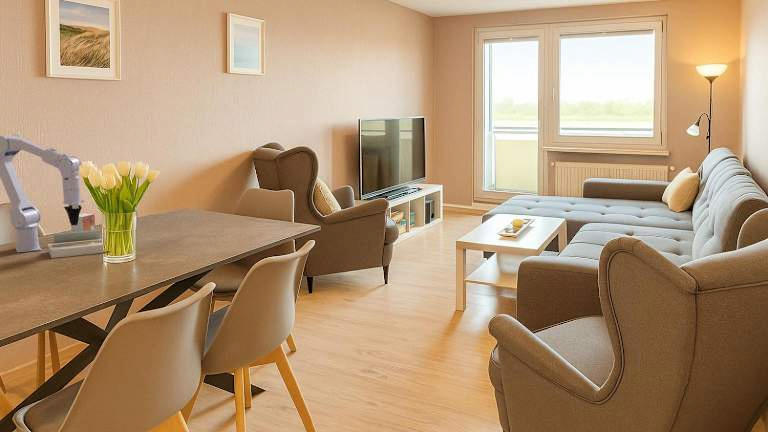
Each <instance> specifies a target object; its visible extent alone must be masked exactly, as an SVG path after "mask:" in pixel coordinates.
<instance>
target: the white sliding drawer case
mask: <svg viewBox="0 0 768 432" xmlns="http://www.w3.org/2000/svg"><path fill="white" fill-rule="evenodd" d="M102 239H103V238H100V239H97V240H88V241H77V242H65V243H55V244H53V243H50V244H48V243H47V252H48V254H49V256H50V258H52V259H55V258H65V257H72V256H73V257H74V256H84V255H85V256H86V255H93V254H104V253H103V244H102ZM84 242H94V243H92V244H82V245H72V246H68V244H74V243H84Z"/></svg>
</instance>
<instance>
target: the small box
mask: <svg viewBox="0 0 768 432" xmlns="http://www.w3.org/2000/svg"><path fill="white" fill-rule="evenodd" d="M95 217H96V216H95V213H79V218H78V224H77V225H71V224H70V227H71V228H70V229H71V232H77V231H88V230H96V219H95ZM86 241H88V240H86ZM76 242H77V241H76Z"/></svg>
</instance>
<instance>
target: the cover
mask: <svg viewBox="0 0 768 432" xmlns="http://www.w3.org/2000/svg"><path fill="white" fill-rule="evenodd" d="M101 231H102V230H101V229H95V230H88V231H77V232H72V231H67V232H57V233H56V232H55V233H54V234H53V242H52V244H57V243H67V242H76V241H86V240H98V239H101Z"/></svg>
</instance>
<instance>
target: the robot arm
mask: <svg viewBox="0 0 768 432" xmlns="http://www.w3.org/2000/svg"><path fill="white" fill-rule="evenodd" d="M21 151H24V152H26V153H30V154H32V155H34V156H37V157H40V158H41V160H42V162H43V163H45V164H47V165H49V166H52V167H54V168H57V169H58V171H59V172H60V175H61V180H62V192H63V203H62V204H64V205H68V206H64V207H63V208H64V210H65V212H66V213H67V217H68V220H69V224H70V226H71V225H77V224H78V218H79V215H80V214H81V211H82V209H83V207H82V205H81V203H85V199H81V185H80V184H81V183H80V172H79V171H80V170H79V166H80V165H81V166H82V162H81V160H80V159H79V158H78V157H77V156H73V155H72V156H69V155H68V154H67V153H62V152H61V151H58V150H57V148H55V147H52V148H50V147H48V148H43V147H42V146H40V145H38V144H36V143H34V142H33V141H30V140H28V139H27V138H25V137H24V136H20V135H18V134H12V135H11V134H10V135H0V180H1V183H2V186H3V187H4V189H5V191H6V194H7V197H8V199H9V202H10V204H11V206H10V208H9V210H8V213H9V215H10V216H9V217H10V223H11V225H12V226H13V227H14V229H15V235H16V246H15V250H16V252H17V253H26V252H28V253H29V252H37V251H41V250H42V248H41V246H40V244H39V243H40V242H39V231H38V226H39V223H40V221H41V218H42V216H41V213H40V211H39V210H38V209H37V208H36V206H35V204H34V203H33V202H32V201H30V200H29V199H28V198H27V195H26V193H25V191H24V189H23V186H22V184H21V181H20V179H19V176H18V175H17V174H18V173H17V172H16V169H15V167H14V164H13V163H12V161H13V160H14V158H15V157H16V156H17V154H18V153H20V152H21Z"/></svg>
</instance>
